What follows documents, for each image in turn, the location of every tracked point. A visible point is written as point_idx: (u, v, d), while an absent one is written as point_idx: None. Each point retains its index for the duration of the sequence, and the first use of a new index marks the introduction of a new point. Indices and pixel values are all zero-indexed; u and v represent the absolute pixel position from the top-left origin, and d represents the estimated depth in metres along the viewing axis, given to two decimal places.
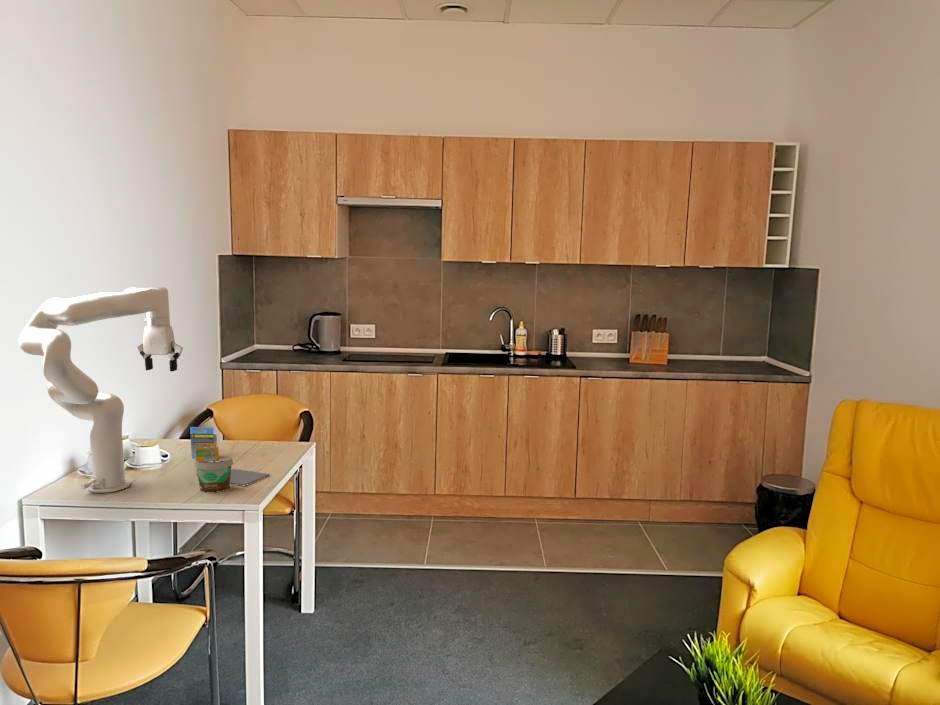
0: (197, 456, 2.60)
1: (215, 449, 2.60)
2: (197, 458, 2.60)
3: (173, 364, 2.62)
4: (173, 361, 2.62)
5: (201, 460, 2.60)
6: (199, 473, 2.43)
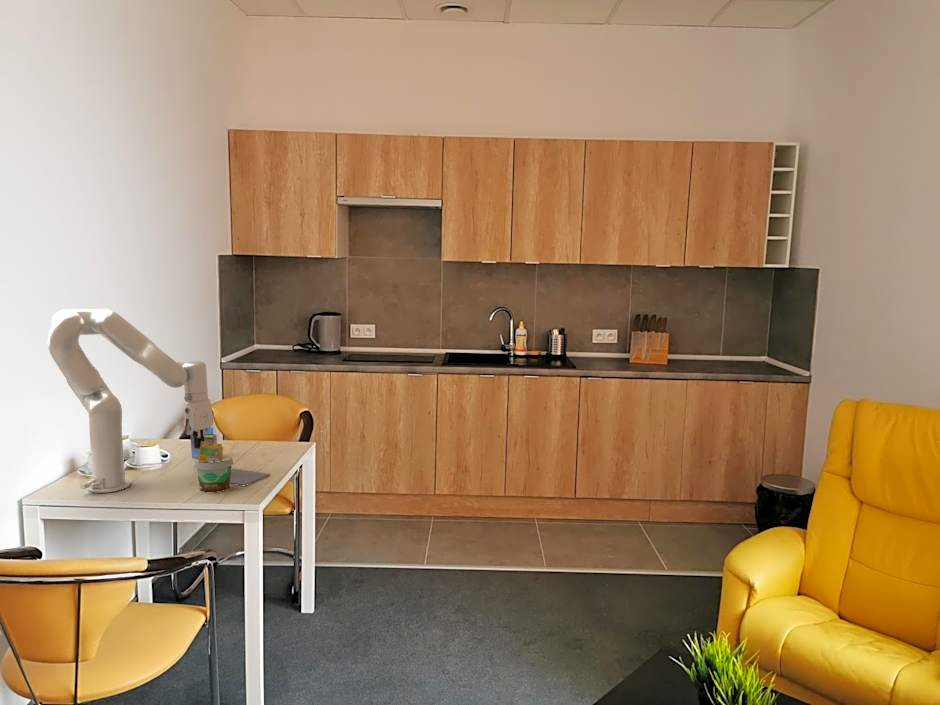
0: (201, 453, 2.59)
1: (220, 450, 2.59)
2: (200, 455, 2.59)
3: (203, 440, 2.63)
4: None
5: (204, 458, 2.60)
6: (199, 473, 2.43)
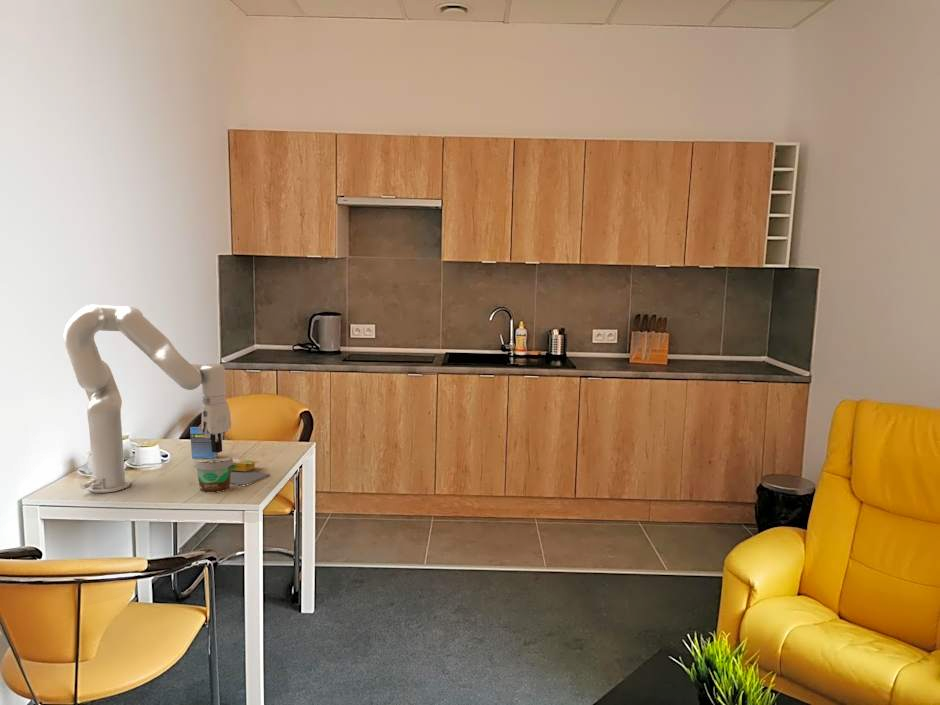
0: (247, 460, 2.69)
1: (245, 463, 2.63)
2: (245, 460, 2.70)
3: None
4: None
5: (241, 460, 2.68)
6: (199, 473, 2.43)
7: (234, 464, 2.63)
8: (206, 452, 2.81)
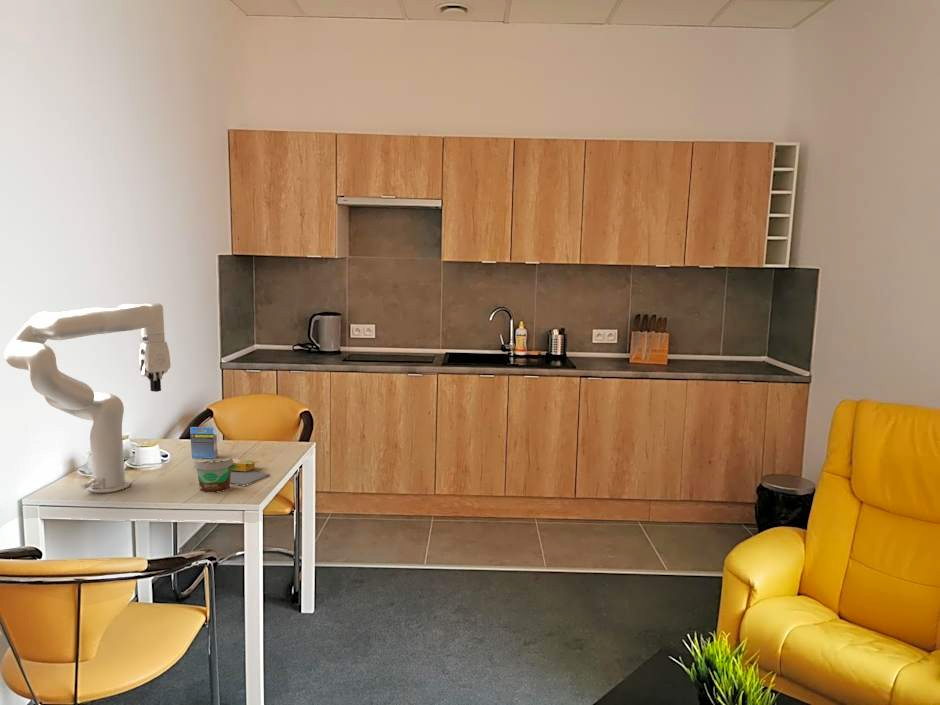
0: (247, 460, 2.69)
1: (245, 463, 2.63)
2: (245, 460, 2.70)
3: None
4: None
5: (241, 460, 2.68)
6: (199, 473, 2.43)
7: (234, 464, 2.63)
8: (206, 452, 2.81)
